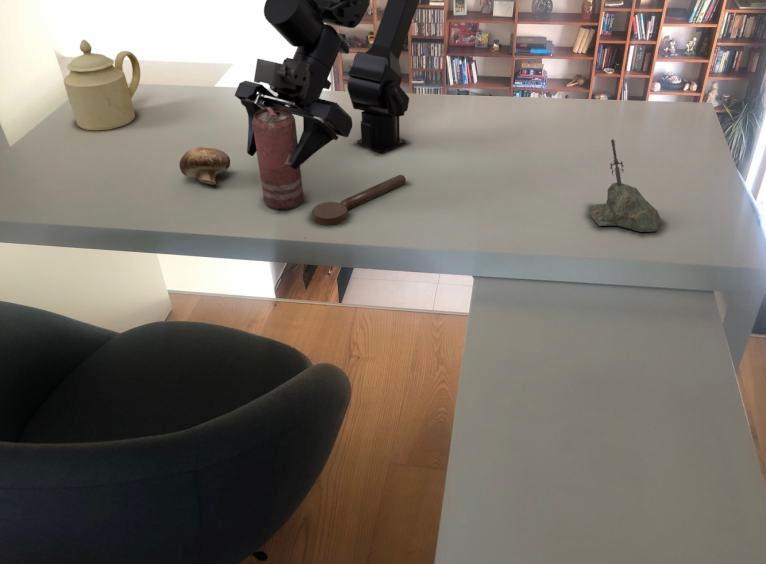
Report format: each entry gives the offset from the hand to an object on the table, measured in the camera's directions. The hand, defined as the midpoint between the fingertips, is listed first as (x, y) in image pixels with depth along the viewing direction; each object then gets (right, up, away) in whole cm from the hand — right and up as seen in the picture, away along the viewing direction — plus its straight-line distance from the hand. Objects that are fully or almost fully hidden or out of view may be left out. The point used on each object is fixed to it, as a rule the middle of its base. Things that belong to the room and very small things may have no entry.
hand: (270, 161), depth 103 cm
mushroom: (-12, 0, +12) cm, 17 cm away
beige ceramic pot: (-38, +18, +35) cm, 55 cm away
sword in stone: (+52, -9, 0) cm, 53 cm away
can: (+1, -5, +6) cm, 8 cm away
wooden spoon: (+13, -5, +5) cm, 15 cm away
